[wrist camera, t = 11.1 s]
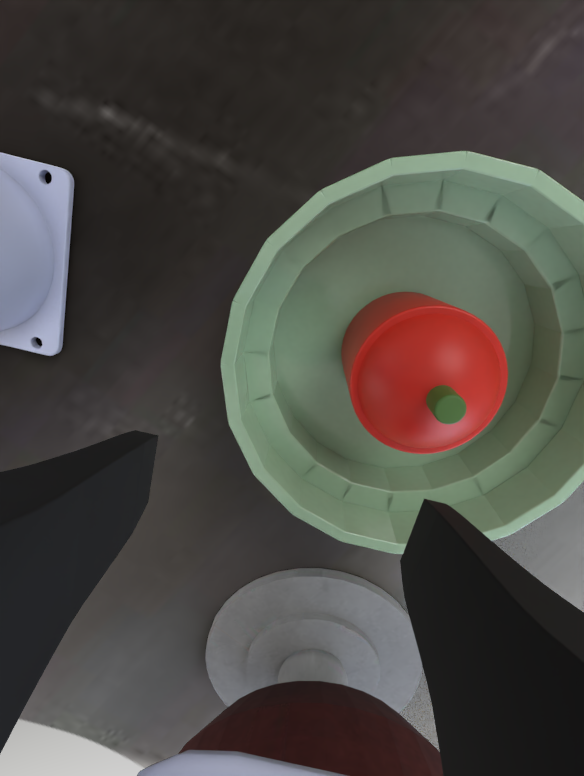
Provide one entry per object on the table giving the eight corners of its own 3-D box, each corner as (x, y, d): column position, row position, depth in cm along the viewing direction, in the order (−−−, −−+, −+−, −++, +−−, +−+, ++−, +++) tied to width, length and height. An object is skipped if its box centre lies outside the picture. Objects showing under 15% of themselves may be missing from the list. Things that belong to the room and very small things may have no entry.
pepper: (328, 392, 20) (335, 470, 13) (359, 278, 18) (388, 295, 11) (438, 419, 20) (505, 510, 13) (479, 307, 18) (581, 343, 11)
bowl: (219, 450, 22) (192, 507, 17) (282, 140, 17) (270, 99, 13) (490, 514, 22) (539, 588, 17) (618, 226, 18) (730, 217, 13)
